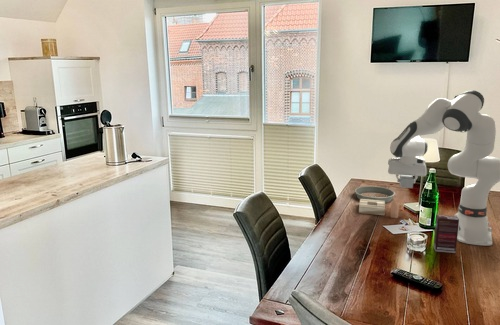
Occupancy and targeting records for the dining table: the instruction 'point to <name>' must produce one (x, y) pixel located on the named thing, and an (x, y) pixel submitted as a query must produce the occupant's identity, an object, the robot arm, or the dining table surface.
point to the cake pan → (375, 190)
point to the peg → (394, 209)
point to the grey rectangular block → (406, 181)
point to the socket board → (372, 207)
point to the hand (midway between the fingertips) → (406, 182)
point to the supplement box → (446, 233)
